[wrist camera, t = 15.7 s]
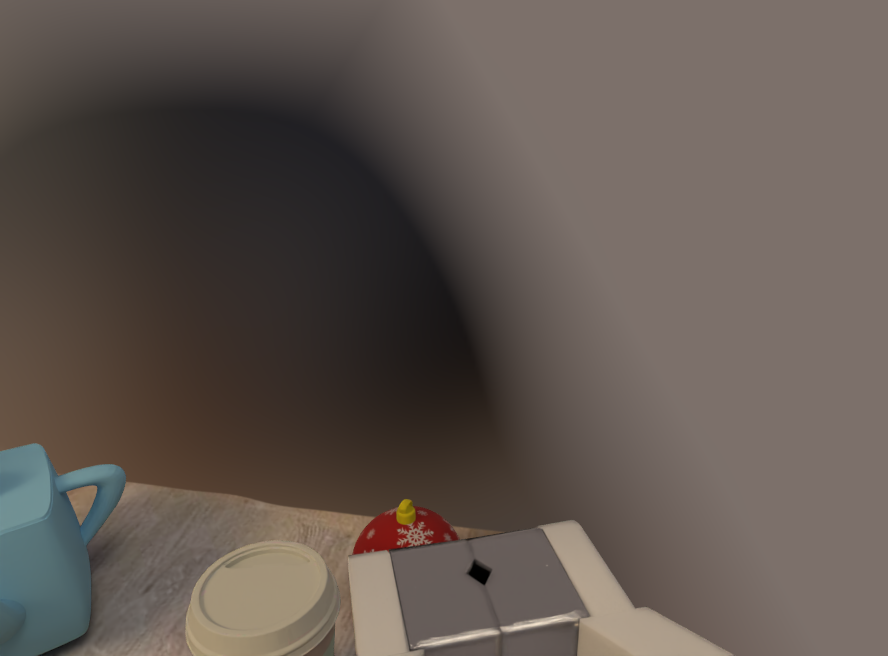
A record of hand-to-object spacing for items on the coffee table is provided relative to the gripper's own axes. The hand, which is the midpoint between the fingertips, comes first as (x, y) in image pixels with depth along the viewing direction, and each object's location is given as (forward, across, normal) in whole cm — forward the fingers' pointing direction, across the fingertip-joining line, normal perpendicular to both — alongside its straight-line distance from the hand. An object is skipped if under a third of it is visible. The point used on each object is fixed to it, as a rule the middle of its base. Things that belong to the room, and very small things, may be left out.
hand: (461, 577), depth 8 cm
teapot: (+36, +26, +32) cm, 55 cm away
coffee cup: (+24, +6, +32) cm, 40 cm away
